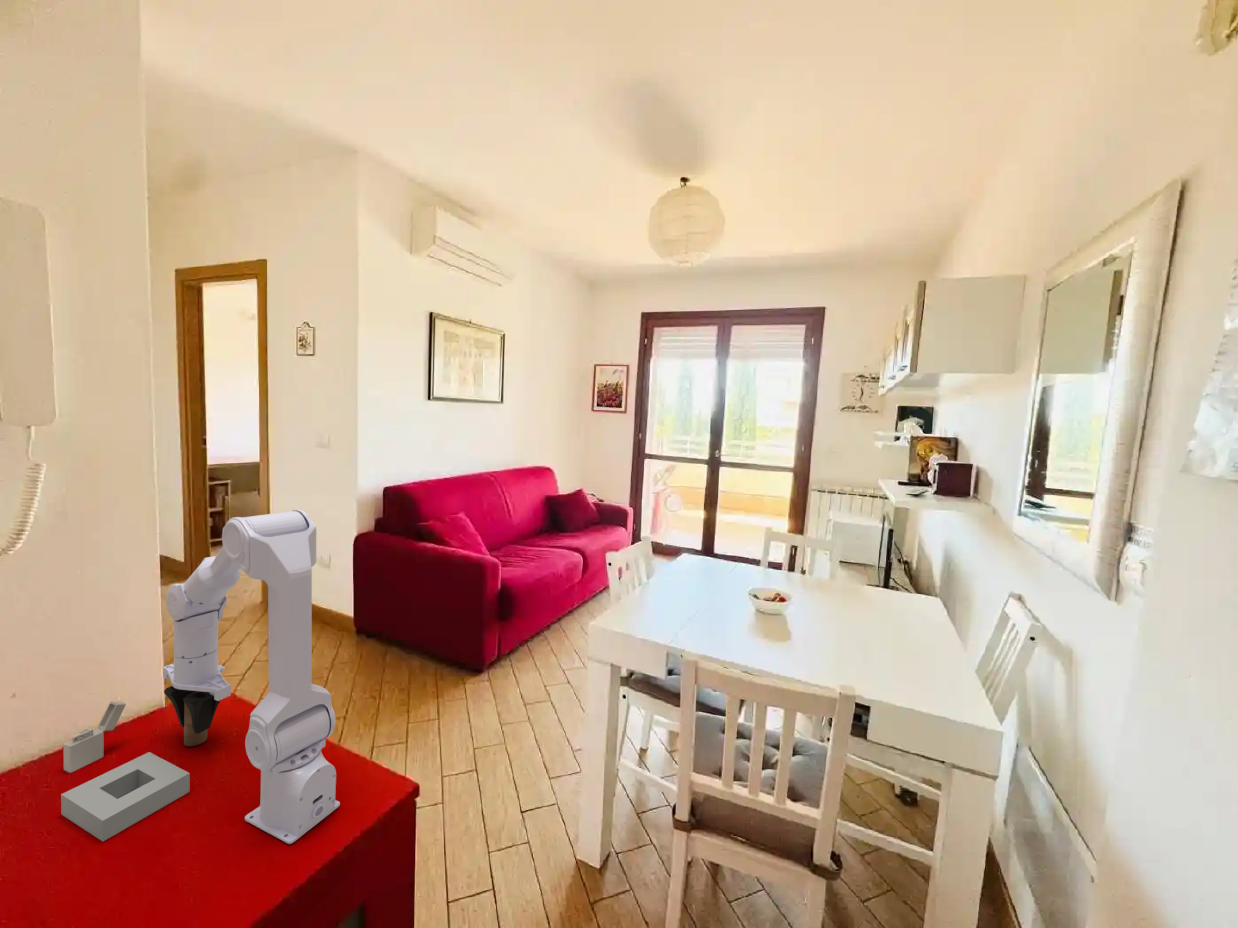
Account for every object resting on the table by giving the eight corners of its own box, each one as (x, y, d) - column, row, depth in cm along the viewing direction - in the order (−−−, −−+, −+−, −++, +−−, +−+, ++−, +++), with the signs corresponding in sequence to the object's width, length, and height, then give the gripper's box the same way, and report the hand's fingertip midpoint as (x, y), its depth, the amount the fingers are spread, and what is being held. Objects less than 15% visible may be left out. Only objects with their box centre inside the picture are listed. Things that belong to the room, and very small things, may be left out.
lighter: (70, 772, 78) (69, 723, 77) (63, 769, 79) (62, 720, 78) (126, 745, 85) (126, 699, 84) (119, 742, 85) (119, 697, 85)
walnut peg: (211, 738, 88) (211, 694, 87) (191, 748, 85) (191, 702, 84) (199, 732, 89) (200, 689, 88) (179, 742, 86) (180, 697, 85)
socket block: (189, 791, 77) (189, 773, 76) (102, 841, 67) (102, 820, 67) (149, 769, 80) (149, 751, 80) (61, 814, 71) (61, 794, 70)
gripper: (250, 651, 86) (249, 726, 88) (195, 631, 92) (195, 703, 93) (204, 669, 80) (203, 750, 81) (148, 647, 85) (148, 723, 86)
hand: (195, 726), depth 87 cm, fingers closed on walnut peg, 3 cm apart
